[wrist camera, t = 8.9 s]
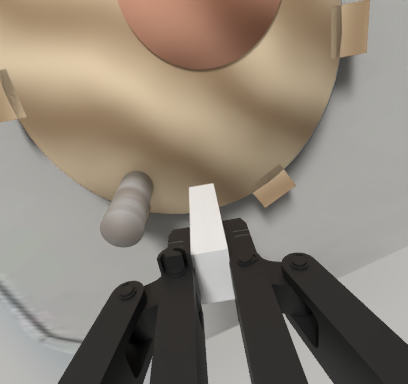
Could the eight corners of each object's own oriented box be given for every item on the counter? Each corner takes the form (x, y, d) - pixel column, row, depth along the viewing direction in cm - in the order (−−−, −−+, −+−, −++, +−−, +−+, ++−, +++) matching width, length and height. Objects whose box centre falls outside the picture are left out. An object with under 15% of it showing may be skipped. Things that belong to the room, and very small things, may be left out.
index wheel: (252, 250, 27) (277, 316, 20) (-23, 175, 22) (-118, 229, 15) (421, -78, 18) (581, -169, 11) (7, -332, 13) (-207, -815, 6)
